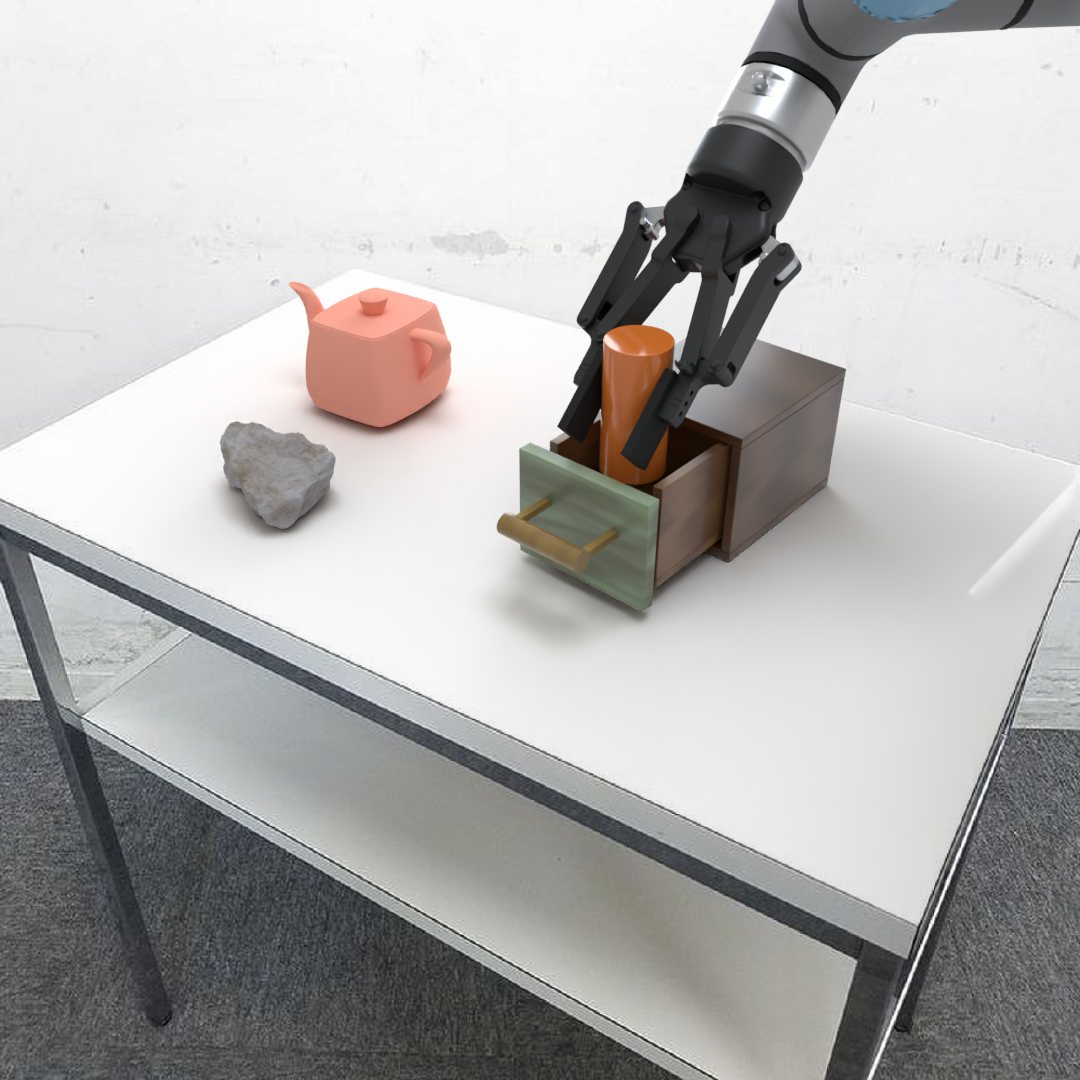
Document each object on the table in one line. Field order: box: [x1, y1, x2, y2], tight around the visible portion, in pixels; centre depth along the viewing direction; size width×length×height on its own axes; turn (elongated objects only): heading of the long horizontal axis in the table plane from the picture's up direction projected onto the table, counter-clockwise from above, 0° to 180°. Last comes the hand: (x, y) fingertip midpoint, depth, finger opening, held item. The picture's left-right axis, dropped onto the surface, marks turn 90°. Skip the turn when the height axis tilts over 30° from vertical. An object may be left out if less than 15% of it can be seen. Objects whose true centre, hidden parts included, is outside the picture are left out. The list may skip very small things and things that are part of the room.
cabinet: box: [673, 327, 847, 563], centre depth 94 cm, size 15×13×11 cm
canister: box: [599, 324, 676, 485], centre depth 82 cm, size 5×5×10 cm
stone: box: [219, 421, 337, 530], centre depth 94 cm, size 10×8×6 cm
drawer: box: [496, 411, 732, 613], centre depth 86 cm, size 18×11×9 cm, turn 139°
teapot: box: [288, 281, 452, 428], centre depth 107 cm, size 12×18×10 cm, turn 57°
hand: (601, 447), depth 81 cm, fingers closed on canister, 5 cm apart
